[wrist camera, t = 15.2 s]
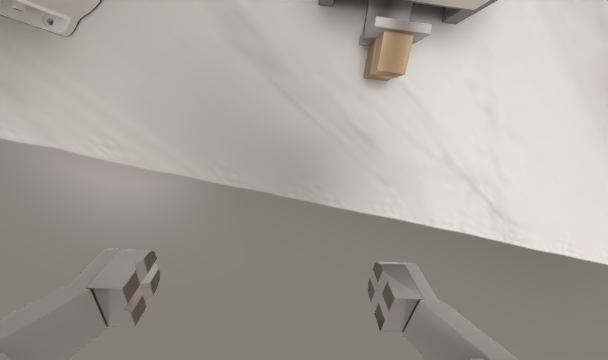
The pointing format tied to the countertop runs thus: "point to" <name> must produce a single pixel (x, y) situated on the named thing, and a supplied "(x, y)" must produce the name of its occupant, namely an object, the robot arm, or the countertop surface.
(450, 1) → the cabinet
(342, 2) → the countertop surface
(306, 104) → the countertop surface
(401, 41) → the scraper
